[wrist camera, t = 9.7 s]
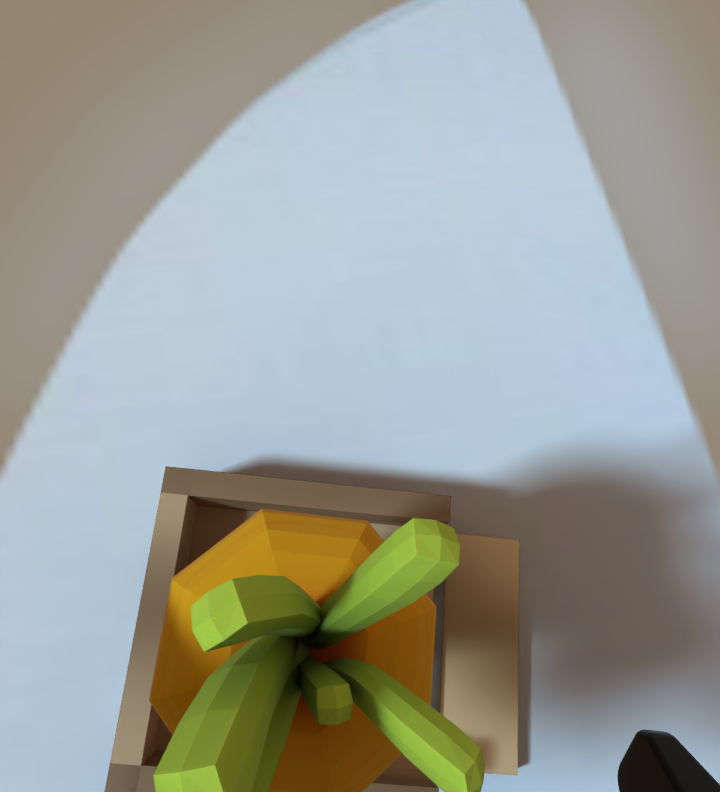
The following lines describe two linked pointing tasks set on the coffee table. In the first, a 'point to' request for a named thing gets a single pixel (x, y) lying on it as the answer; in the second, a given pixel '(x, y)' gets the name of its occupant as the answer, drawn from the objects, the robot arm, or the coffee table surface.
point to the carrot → (307, 660)
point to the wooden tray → (386, 511)
